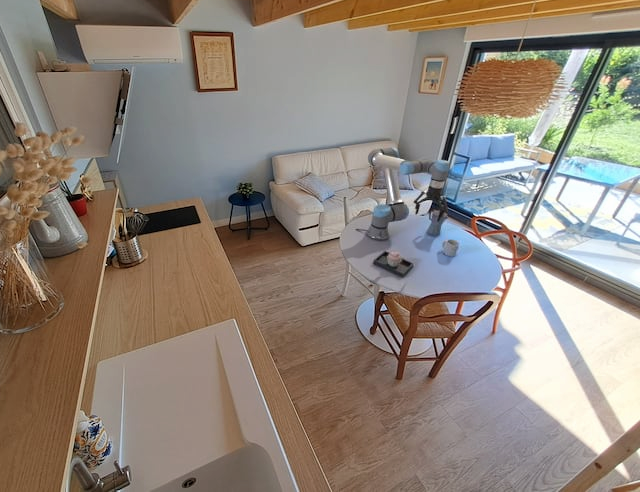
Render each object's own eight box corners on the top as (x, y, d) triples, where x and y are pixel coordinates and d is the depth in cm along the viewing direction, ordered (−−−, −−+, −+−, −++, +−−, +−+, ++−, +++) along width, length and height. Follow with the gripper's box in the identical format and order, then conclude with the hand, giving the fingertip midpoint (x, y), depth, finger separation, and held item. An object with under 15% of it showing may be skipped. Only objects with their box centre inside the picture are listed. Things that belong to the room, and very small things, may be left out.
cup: (451, 257, 187) (455, 246, 183) (437, 250, 195) (440, 239, 191) (457, 254, 190) (461, 243, 186) (443, 247, 198) (447, 236, 194)
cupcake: (397, 259, 185) (400, 246, 180) (403, 268, 177) (406, 255, 172) (383, 259, 185) (385, 247, 180) (388, 269, 177) (391, 256, 172)
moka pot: (437, 239, 207) (444, 215, 197) (419, 229, 219) (425, 206, 209) (445, 236, 211) (453, 212, 201) (427, 226, 222) (434, 203, 213)
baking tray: (373, 263, 183) (373, 260, 182) (384, 254, 192) (384, 250, 190) (402, 277, 171) (403, 274, 169) (412, 266, 180) (413, 263, 178)
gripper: (412, 182, 176) (405, 212, 186) (456, 194, 160) (445, 226, 171) (417, 179, 180) (410, 209, 191) (460, 190, 165) (450, 221, 175)
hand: (427, 217), depth 181 cm, fingers open, 13 cm apart
